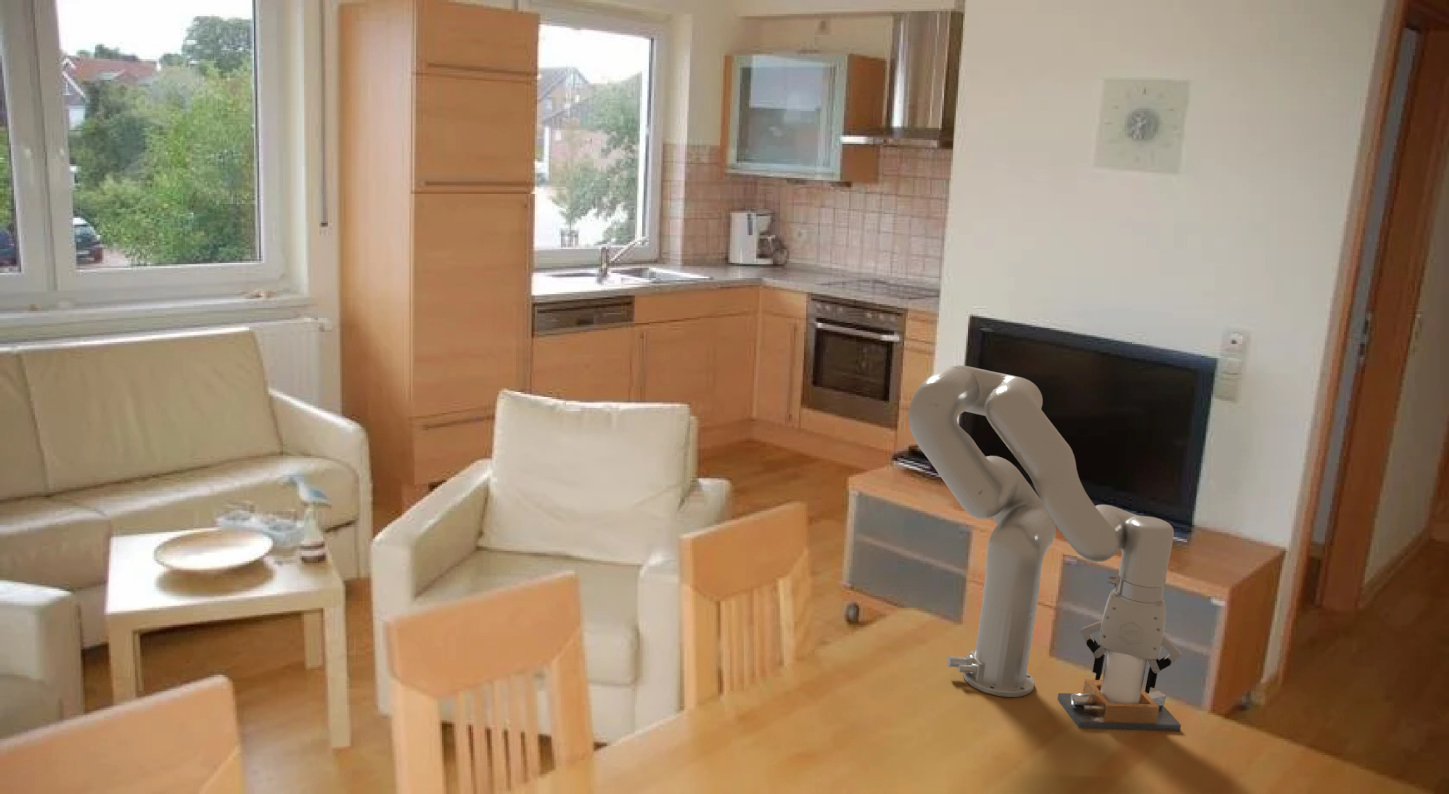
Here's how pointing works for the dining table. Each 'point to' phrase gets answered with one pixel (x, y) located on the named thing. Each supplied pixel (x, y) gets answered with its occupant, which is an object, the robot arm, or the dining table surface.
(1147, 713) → the base
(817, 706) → the dining table surface
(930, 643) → the dining table surface
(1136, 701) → the can
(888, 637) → the dining table surface
